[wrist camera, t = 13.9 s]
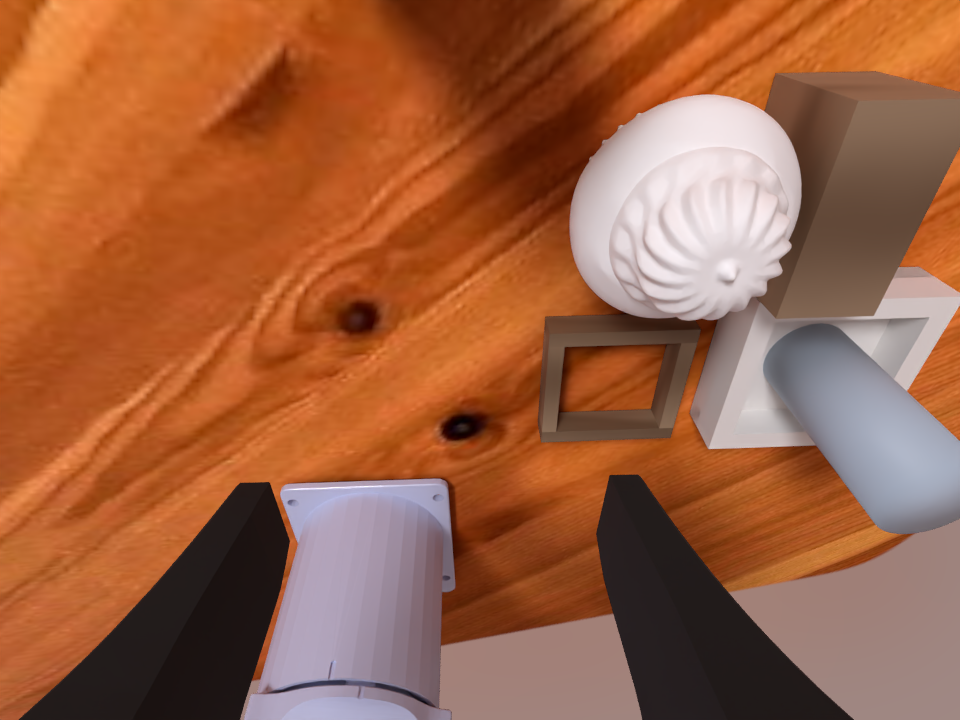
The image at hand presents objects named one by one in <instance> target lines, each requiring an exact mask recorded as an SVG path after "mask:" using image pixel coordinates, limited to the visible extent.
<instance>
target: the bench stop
mask: <svg viewBox="0 0 960 720" xmlns="http://www.w3.org/2000/svg"><path fill="white" fill-rule="evenodd" d="M765 112H766V113H767V114H768V115H769V116H771V117H772V118H773V119H774V120H775V121H776V122H777V123H778V124H779V125H780V126H781V127H782V129H783V130H784V131H785V132H786V134H787V136H788V137H789V139H790V141H791V143H792V145H793V147H794V150H795V153H796V156H797V159H798V163H799V167H800V173H801V183H802V186H801V205H800V210H799V215H798V219H797V222H796V225H795V228H794V230H793V232H792V235H791V237H790V239H789V242H790V243H791V245H792V246H791V249H790V251H789V252H788V253H786V254H785V255H784V256H783V257H782V258H780V259H779V263H780V265H781V267H782V270H783V271H782V274H781V275H779V276H777V277H774V278H772V279H769V280H768V281H767V291H766V294H765V295H763V296H758V297H756V298H757V299H758V300H759V301H760V302H761V303H762V304H763V305H764V306H765V307H766V309H767V310H768V311H769V312H770V313H771V314H772V315H773V316H774V317H775V319H789V318H823V317H857V316H874V315H875V313H876V311H877V309H878V307H879V305H880V303H881V301H882V299H883V297H884V295H885V293H886V291H887V289H888V287H889V285H890V283H891V281H892V279H893V277H894V275H895V273H896V271H897V269H898V267H899V265H900V264H901V262H902V260H903V258H904V256H905V254H906V252H907V250H908V248H909V246H910V244H911V242H912V240H913V238H914V236H915V234H916V232H917V230H918V228H919V226H920V224H921V222H922V220H923V218H924V216H925V214H926V212H927V210H928V208H929V206H930V204H931V203H932V201H933V199H934V197H935V195H936V193H937V191H938V189H939V187H940V185H941V183H942V181H943V179H944V177H945V175H946V173H947V171H948V169H949V167H950V165H951V163H952V161H953V159H954V157H955V155H956V153H957V151H958V149H959V147H960V92H958V91H954V90H949V89H945V88H941V87H937V86H933V85H929V84H925V83H921V82H917V81H913V80H909V79H905V78H901V77H897V76H893V75H889V74H885V73H880V72H876V71H871V72H822V73H776V74H775V78H774V81H773V85H772V88H771V92H770V95H769V99H768V102H767V106H766V109H765Z"/></svg>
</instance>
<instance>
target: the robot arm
mask: <svg viewBox="0 0 960 720" xmlns="http://www.w3.org/2000/svg"><path fill="white" fill-rule="evenodd" d="M437 494H439V495H437ZM280 496H281V499H282V502H283V504H284V507H285V510H286V512H287V515H288V518H289V521H290V523H291V526H292V529H293V531H294V534H295V537H296V540H297V542H298V547H297V550H296V554H295V558H294V561H293V565H292V568H291V572H290V576H289V579H288V583H287V586H286V590H285V594H284V597H283V601H282V605H281V608H280V612H279V615H278V619H277V623H276V626H275V630H274V633H273V637H272V641H271V644H270V648H269V651H268V655H267V659H266V662H265V666H264V669H263V673H262V677H261V680H260V684H259V688H258V691H257V693H253V694H252V695H251V696H250V699H249V703H248V707H247V710H246V713H245V717H244V720H452V712H451V711H450V710H446V709H440V708H439V692H440V690H439V689H440V653H441V613H442V592H450V591H452V590H454V589H455V571H454V558H453V544H452V531H451V517H450V504H449V491H448V484H447V482H446V481H445V480H442V479H409V480H381V481H352V482H323V483H295V484H286V485H284V486H283V488H282V490H281V493H280ZM596 535H597V541H598V547H599V553H600V559H601V565H602V571H603V576H604V581H605V585H606V589H607V592H608V596H609V599H610V603H611V606H612V610H613V613H614V617H615V621H616V624H617V627H618V631H619V634H620V638H621V641H622V645H623V648H624V652H625V655H626V658H627V662H628V666H629V669H630V672H631V676H632V680H633V683H634V686H635V690H636V694H637V698H638V702H639V706H640V710H641V715H642V720H854V719H853V718H851V717H850V716H849V715H848V714H847V713H846V712H845V711H844V710H842V709H841V708H840V707H839V706H838V705H837V704H836V703H835V702H834V701H833V700H831V699H830V698H829V697H828V696H827V695H826V694H825V693H824V692H823V691H822V690H821V689H820V688H818V687H817V686H816V685H815V684H814V683H813V682H812V681H811V680H810V679H809V678H808V677H807V676H806V675H805V674H804V673H803V672H802V671H801V670H800V669H799V668H798V667H797V666H796V665H795V664H794V663H793V662H792V661H791V660H790V659H789V658H788V657H787V656H786V655H785V654H784V653H783V652H782V651H781V650H780V649H779V648H778V647H777V646H776V645H775V644H774V643H773V642H772V640H770V639H769V637H768V636H767V635H766V634H765V633H764V632H763V631H762V630H761V629H760V628H759V627H758V626H757V624H756V623H755V622H754V621H753V620H752V619H751V618H750V617H749V616H748V615H747V613H746V612H745V611H744V610H743V609H742V608H741V607H740V605H739V604H738V603H737V602H736V601H735V600H734V598H733V597H732V596H731V595H730V594H729V593H728V592H727V590H726V589H725V588H724V587H723V586H722V584H721V583H720V582H719V581H718V580H717V578H716V577H715V576H714V575H713V574H712V572H711V571H710V570H709V569H708V567H707V566H706V565H705V564H704V562H703V561H702V560H701V558H700V557H699V556H698V555H697V553H696V552H695V551H694V550H693V548H692V547H691V546H690V545H689V543H688V542H687V541H686V539H685V538H684V537H683V535H682V534H681V533H680V531H679V530H678V529H677V527H676V526H675V525H674V523H673V522H672V521H671V519H670V518H669V516H668V515H667V514H666V512H665V511H664V509H663V508H662V507H661V505H660V504H659V502H658V501H657V500H656V498H655V497H654V495H653V494H652V492H651V491H650V489H649V488H648V487H647V485H646V484H645V482H644V481H643V479H642V478H641V477H640V476H639V475H610V476H609V481H608V485H607V489H606V494H605V498H604V502H603V507H602V511H601V515H600V520H599V524H598V528H597V533H596ZM289 543H290V540H289V537H288V534H287V531H286V529H285V526H284V523H283V520H282V517H281V514H280V511H279V508H278V505H277V502H276V499H275V497H274V494H273V491H272V488H271V485H270V482H260V483H240V484H239V485H238V486H236V488H235V489H234V490H233V491H232V493H231V494H230V495H229V496H228V498H227V499H226V500H225V501H224V503H223V504H222V505H221V506H220V508H219V509H218V510H217V511H216V513H215V514H214V515H213V516H212V518H211V519H210V520H209V521H208V522H207V524H206V525H205V526H204V527H203V529H202V530H201V531H200V532H199V534H198V535H197V536H196V537H195V538H194V540H193V541H192V542H191V543H190V544H189V546H188V547H187V548H186V549H185V550H184V552H183V553H182V554H181V555H180V556H179V557H178V559H177V560H176V561H175V562H174V563H173V564H172V566H171V567H170V568H169V569H168V570H167V571H166V573H165V574H164V575H163V576H162V577H161V578H160V580H159V581H158V582H157V583H156V584H155V585H154V586H153V587H152V589H151V590H150V591H149V592H148V593H147V594H146V595H145V596H144V597H143V598H142V599H141V600H140V602H139V603H138V604H137V605H136V606H135V607H134V608H133V609H132V610H131V611H130V612H129V613H128V615H127V616H126V617H125V618H124V619H123V620H122V621H121V622H120V623H119V624H118V625H117V626H116V627H115V628H114V629H113V631H112V632H111V633H110V634H109V635H108V636H107V637H106V638H105V639H104V640H103V641H102V642H101V643H100V644H99V645H98V646H97V647H96V648H95V649H94V650H93V651H92V652H91V653H90V654H89V655H88V656H87V657H86V658H85V659H84V660H83V661H82V662H81V663H79V664H78V665H77V666H76V667H75V668H74V669H73V670H72V671H71V672H70V673H69V674H68V675H67V676H66V677H65V678H64V679H63V680H62V681H61V682H60V683H59V684H58V685H56V686H55V687H54V688H53V689H52V690H51V691H50V692H49V693H48V694H46V695H45V696H44V697H43V698H42V699H41V700H40V701H39V702H38V703H37V704H35V705H34V706H33V707H32V708H31V709H30V710H29V711H28V712H27V713H26V714H24V715H23V716H22V717H21V718H20V719H19V720H240V717H241V714H242V710H243V707H244V703H245V700H246V697H247V693H248V690H249V687H250V684H251V681H252V678H253V675H254V672H255V669H256V665H257V662H258V659H259V656H260V653H261V650H262V647H263V644H264V640H265V637H266V634H267V631H268V628H269V625H270V622H271V618H272V615H273V612H274V609H275V606H276V602H277V599H278V596H279V593H280V589H281V584H282V579H283V575H284V570H285V565H286V559H287V554H288V548H289Z"/></svg>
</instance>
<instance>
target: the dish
mask: <svg viewBox="0 0 960 720" xmlns="http://www.w3.org/2000/svg"><path fill="white" fill-rule="evenodd" d="M959 305H960V293H959V292H957V291H956V290H954V289H953V288H951V287H950V286H948V285H946V284H945V283H943V282H942V281H940V280H939V279H937V278H936V277H934V276H933V275H931V274H929V273H928V272H926V271H925V270H923V269H922V268H920V267H898V269H897V271H896V273H895V275H894V277H893V279H892V281H891V283H890V285H889V287H888V289H887V291H886V293H885V295H884V297H883V299H882V301H881V303H880V305H879V307H878V309H877V311H876V313H875V315H874V316H857V317H823V318H789V319H775V317H774V316H773V315H772V314H771V313H770V312H769V311H768V310H767V309H766V307H765V306H764V305H763V304H762V303H761V302H760V301H759V300H758V299H757V298H756V297H751V298H750V300H749V303H748V305H747V307H746V308H745V309H744V310H741V311H738V312H731V311H729V312H728V313H727V314H726V315H725V316H723V317H722V318H719V319H718V321H717V324H716V328H715V331H714V334H713V337H712V341H711V344H710V347H709V351H708V354H707V357H706V361H705V364H704V367H703V371H702V374H701V377H700V380H699V384H698V387H697V390H696V394H695V397H694V400H693V404H692V407H691V410H690V415H691V417H692V419H693V420H694V422H695V424H696V426H697V428H698V430H699V432H700V434H701V436H702V438H703V440H704V442H705V444H706V445H707V447H708V449H724V448H753V447H782V446H812V445H816V444H815V443H814V442H813V441H812V439H811V438H810V437H809V435H808V434H807V433H806V431H805V430H804V429H803V427H802V426H801V425H800V423H799V422H798V421H797V419H796V418H795V417H794V415H793V414H792V413H791V411H790V410H789V409H788V407H787V406H786V405H785V403H784V402H783V401H782V399H781V398H780V397H779V395H778V394H777V393H776V391H775V390H774V389H773V387H772V386H771V385H770V383H769V382H768V381H767V379H766V378H765V376H764V373H763V363H764V360H765V357H766V355H767V353H768V352H769V350H770V349H771V348H772V346H773V345H774V344H775V343H776V342H777V341H778V340H780V339H781V338H782V337H783V336H785V335H786V334H788V333H790V332H792V331H793V330H796V329H798V328H800V327H803V326H807V325H811V324H821V323H823V324H830V325H834V326H836V327H838V328H840V329H841V330H842V331H843V332H844V333H845V334H846V335H847V336H848V337H849V338H851V339H852V340H853V341H854V342H855V343H856V344H857V345H858V346H859V347H860V348H861V349H862V350H863V351H864V352H865V353H866V354H868V355H869V356H870V357H871V358H872V359H873V360H874V361H875V362H876V363H877V364H878V365H879V366H880V367H881V368H882V369H883V370H885V371H886V372H887V373H888V374H889V375H890V376H891V377H892V378H893V379H894V380H895V381H896V382H897V383H898V384H899V385H900V386H902V387H903V388H904V389H905V390H906V391H907V390H908V388H909V387H910V385H911V384H912V382H913V380H914V379H915V377H916V375H917V374H918V372H919V371H920V369H921V367H922V366H923V364H924V362H925V361H926V359H927V358H928V356H929V354H930V353H931V351H932V349H933V348H934V346H935V345H936V343H937V341H938V340H939V338H940V336H941V335H942V333H943V331H944V330H945V328H946V327H947V325H948V323H949V322H950V320H951V318H952V317H953V315H954V314H955V312H956V310H957V309H958V307H959Z"/></svg>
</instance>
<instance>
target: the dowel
mask: <svg viewBox="0 0 960 720" xmlns="http://www.w3.org/2000/svg"><path fill="white" fill-rule="evenodd" d="M763 373H764V376H765V378H766V379H767V381H768V382H769V383H770V385H771V386H772V387H773V389H774V390H775V391H776V393H777V394H778V395H779V397H780V398H781V399H782V401H783V402H784V403H785V405H786V406H787V407H788V409H789V410H790V411H791V413H792V414H793V415H794V417H795V418H796V419H797V421H798V422H799V423H800V425H801V426H802V427H803V429H804V430H805V431H806V433H807V434H808V435H809V437H810V438H811V439H812V441H813V442H814V443H815V444H816V446H817V447H818V448H819V450H820V451H821V452H822V454H823V455H824V456H825V458H826V459H827V460H828V462H829V463H830V464H831V466H832V467H833V468H834V470H835V471H836V472H837V474H838V475H839V476H840V478H841V479H842V480H843V482H844V483H845V484H846V486H847V487H848V488H849V490H850V491H851V492H852V494H853V495H854V496H855V498H856V499H857V500H858V502H859V503H860V504H861V506H862V507H863V508H864V510H865V511H866V512H867V514H868V515H869V516H870V518H871V519H872V520H873V522H874V523H875V524H876V525H877V526H878V527H879V528H880V529H882V530H884V531H886V532H890V533H896V534H911V533H919V532H924V531H928V530H932V529H936V528H939V527H942V526H944V525H947V524H949V523H952V522H953V521H956V520H958V519H959V518H960V441H959V440H958V439H957V438H956V437H955V436H954V435H953V434H951V433H950V432H949V431H948V430H947V429H946V428H945V427H944V426H943V425H942V424H941V423H940V422H939V421H938V420H937V419H936V418H934V417H933V416H932V415H931V414H930V413H929V412H928V411H927V410H926V409H925V408H924V407H923V406H922V405H921V404H920V403H919V402H917V401H916V400H915V399H914V398H913V397H912V396H911V395H910V394H909V393H908V392H907V391H906V390H905V389H904V388H903V387H902V386H900V385H899V384H898V383H897V382H896V381H895V380H894V379H893V378H892V377H891V376H890V375H889V374H888V373H887V372H886V371H885V370H883V369H882V368H881V367H880V366H879V365H878V364H877V363H876V362H875V361H874V360H873V359H872V358H871V357H870V356H869V355H868V354H866V353H865V352H864V351H863V350H862V349H861V348H860V347H859V346H858V345H857V344H856V343H855V342H854V341H853V340H852V339H851V338H849V337H848V336H847V335H846V334H845V333H844V332H843V331H842V330H841V329H840V328H838V327H836V326H834V325H830V324H823V323H821V324H811V325H807V326H803V327H800V328H798V329H796V330H793V331H792V332H790V333H788V334H786V335H785V336H783V337H782V338H781V339H780V340H778V341H777V342H776V343H775V344H774V345H773V346H772V348H771V349H770V350H769V352H768V353H767V355H766V357H765V360H764V363H763Z"/></svg>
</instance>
